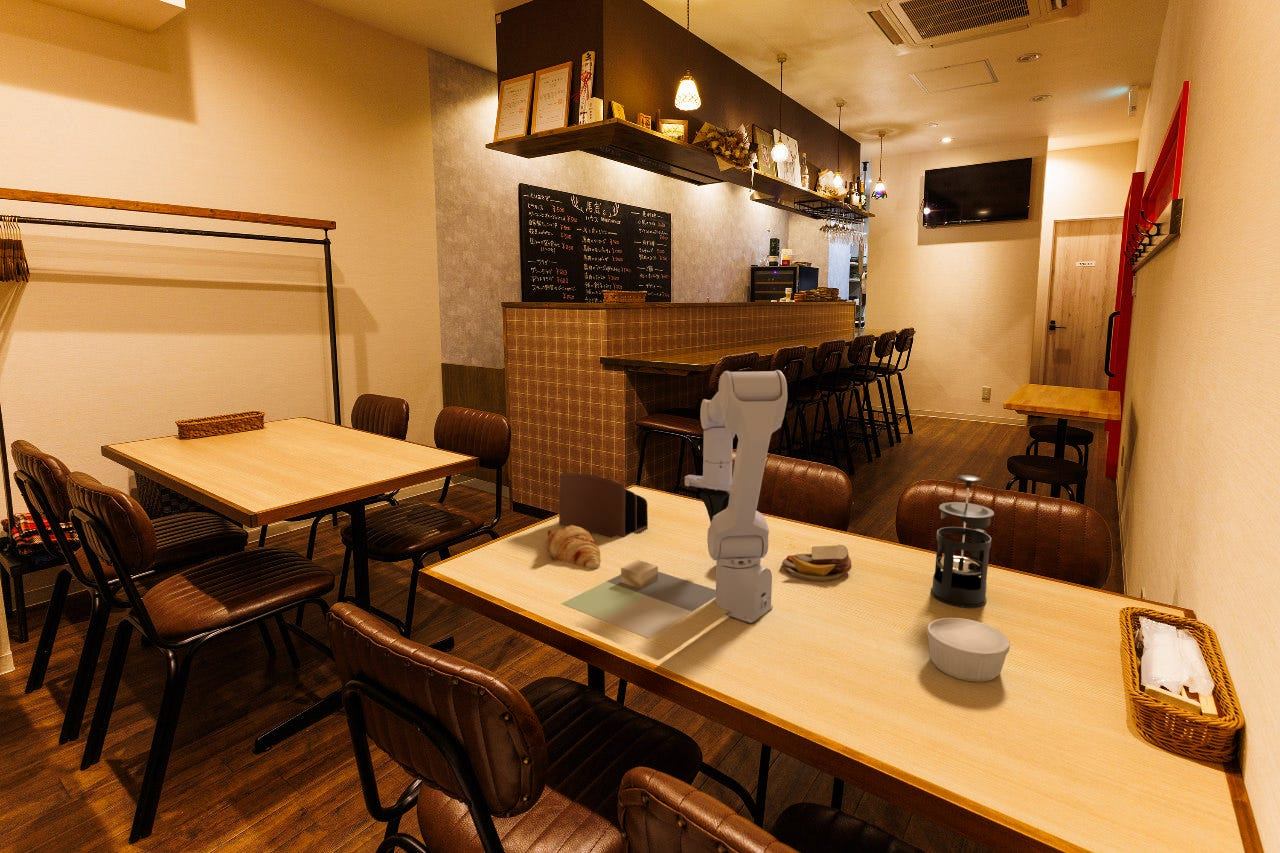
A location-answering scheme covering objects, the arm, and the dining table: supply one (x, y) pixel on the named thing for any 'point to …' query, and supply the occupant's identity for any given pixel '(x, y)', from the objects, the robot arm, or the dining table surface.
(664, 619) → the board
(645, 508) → the letter holder
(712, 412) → the robot arm
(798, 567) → the toy sandwich meal
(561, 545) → the croissant
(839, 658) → the dining table surface
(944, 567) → the french press
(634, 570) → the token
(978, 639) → the ramekin
